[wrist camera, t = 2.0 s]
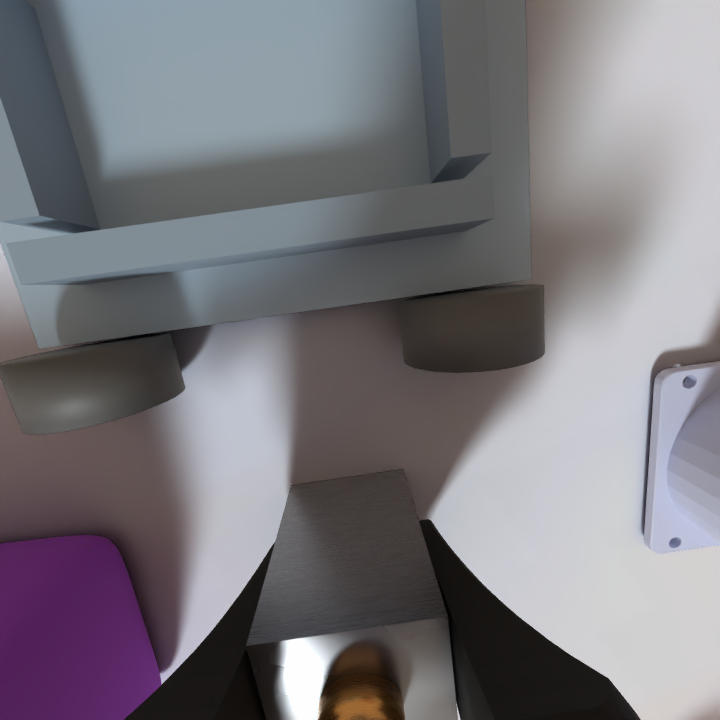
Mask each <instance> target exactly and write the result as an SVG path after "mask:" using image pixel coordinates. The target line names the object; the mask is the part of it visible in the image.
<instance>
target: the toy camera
mask: <svg viewBox="0 0 720 720" xmlns="http://www.w3.org/2000/svg"><path fill="white" fill-rule="evenodd" d="M160 686H161V678H160V674H159V669H158V665H157V662H156V658H155V655H154V652H153V649H152V645H151V642H150V639H149V636H148V633H147V630H146V627H145V624H144V620H143V617H142V614H141V611H140V608H139V605H138V602H137V599H136V596H135V592H134V589H133V586H132V583H131V580H130V577H129V575H128V572H127V569H126V566H125V563H124V561H123V559H122V556H121V554H120V552H119V550H118V549H117V547H116V546H115V545H114V544H113V543H112V542H111V541H110V540H109V539H107V538H105V537H101V536H97V535H74V536H61V537H52V538H43V539H34V540H25V541H17V542H8V543H0V720H124V719H125V718H126V717H127V716H128V715H129V714H130V713H132V712H133V711H134V710H135V709H136V708H137V707H138V706H139V705H140V704H142V703H143V702H144V701H145V700H146V699H147V698H148V697H149V696H150V695H151V694H152V693H153V692H154V691H156V690H157V689H158V688H159V687H160Z"/></svg>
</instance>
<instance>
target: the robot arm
mask: <svg viewBox="0 0 720 720" xmlns="http://www.w3.org/2000/svg"><path fill="white" fill-rule="evenodd" d="M685 377H686V379H685V382H684V383H683V380H684V378H685ZM419 523H420V526H421V530H422V533H423V536H424V540H425V543H426V546H427V550H428V553H429V556H430V559H431V563H432V566H433V569H434V573H435V576H436V579H437V583H438V586H439V589H440V593H441V596H442V599H443V602H444V606H445V609H446V612H447V616H448V624H449V634H450V644H451V655H452V665H453V675H454V685H455V696H456V702H457V707H458V711H459V715H460V719H461V720H640V718H639V717H638V715H637V714H636V712H635V711H634V710H633V708H632V707H631V706H630V705H629V703H628V702H627V701H626V700H625V698H624V697H623V696H622V695H621V693H620V692H619V691H618V690H617V688H616V687H615V686H614V685H613V683H612V682H611V681H610V680H609V679H608V678H607V677H605V676H603V675H602V674H600V673H599V672H597V671H595V670H594V669H592V668H590V667H589V666H587V665H586V664H584V663H582V662H581V661H579V660H578V659H576V658H574V657H573V656H571V655H570V654H568V653H567V652H565V651H564V650H562V649H561V648H559V647H558V646H557V645H555V644H554V643H552V642H551V641H549V640H548V639H547V638H545V637H544V636H543V635H542V634H540V633H539V632H538V631H536V630H535V629H534V628H533V627H531V626H530V625H529V624H527V623H526V622H525V621H523V620H522V619H521V618H520V617H518V616H517V615H516V614H515V613H514V612H513V611H511V610H510V609H509V608H508V607H507V606H506V605H504V604H503V603H502V602H501V601H500V600H499V599H498V598H497V597H496V596H495V595H494V594H493V593H491V592H490V591H489V590H488V589H487V588H486V587H485V586H484V585H483V584H482V583H481V582H480V581H479V580H478V578H477V577H476V576H475V575H474V574H473V573H472V572H471V571H470V570H469V569H468V568H467V567H466V566H465V564H464V563H463V562H462V561H461V560H460V559H459V557H458V556H457V555H456V554H455V553H454V551H453V550H452V549H451V548H450V546H449V545H448V544H447V543H446V541H445V540H444V539H443V537H442V536H441V535H440V533H439V532H438V530H437V529H436V527H435V526H434V524H433V523H432V521H431V520H429V519H427V520H420V521H419ZM644 543H645V545H646V546H647V547H648V548H649V549H651V550H652V551H653V552H655V553H659V554H663V553H669V552H676V551H683V550H690V549H697V548H703V547H710V546H717V545H720V361H716V362H709V363H702V364H695V365H688V366H681V367H674V368H668V369H665V370H662V371H661V372H660V373H659V374H658V375H657V376H656V378H655V382H654V393H653V409H652V424H651V439H650V454H649V470H648V485H647V500H646V516H645V531H644ZM274 545H275V543H274V544H273V545H272V547H271V548H270V550H269V552H268V553H267V555H266V556H265V558H264V559H263V561H262V562H261V564H260V566H259V567H258V569H257V570H256V572H255V573H254V575H253V576H252V578H251V579H250V580H249V582H248V583H247V585H246V586H245V588H244V589H243V591H242V592H241V594H240V595H239V596H238V598H237V599H236V600H235V602H234V603H233V604H232V606H231V607H230V608H229V610H228V611H227V612H226V614H225V615H224V616H223V618H222V619H221V620H220V621H219V623H218V624H217V625H216V626H215V628H214V629H213V630H212V631H211V632H210V634H209V635H208V636H207V637H206V638H205V639H204V641H203V642H202V643H201V644H200V645H199V646H198V648H197V649H196V650H195V651H194V652H193V653H192V654H191V655H190V656H189V657H188V658H187V659H186V660H185V661H184V662H183V663H182V664H181V666H180V667H179V668H178V669H177V670H176V671H175V672H174V673H173V674H172V675H171V676H170V677H169V678H168V679H167V680H166V681H165V682H164V683H163V684H162V685H161V686H160V687H159V688H158V689H157V690H156V691H154V692H153V693H152V694H151V695H150V696H149V697H148V698H147V699H146V700H145V701H144V702H143V703H142V704H140V705H139V706H138V707H137V708H136V709H135V710H134V711H133V712H132V713H130V714H129V715H128V716H127V717H126V718H125V719H124V720H266V717H265V713H264V710H263V706H262V702H261V699H260V695H259V692H258V688H257V684H256V681H255V677H254V674H253V670H252V666H251V663H250V659H249V655H248V652H247V648H246V644H247V641H248V637H249V634H250V630H251V626H252V623H253V619H254V616H255V612H256V609H257V605H258V602H259V598H260V595H261V591H262V587H263V584H264V580H265V577H266V573H267V570H268V566H269V563H270V559H271V556H272V552H273V548H274Z"/></svg>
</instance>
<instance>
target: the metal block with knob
mask: <svg viewBox="0 0 720 720" xmlns="http://www.w3.org/2000/svg"><path fill="white" fill-rule="evenodd" d="M246 648H247V652H248V655H249V659H250V663H251V666H252V670H253V674H254V677H255V681H256V684H257V688H258V692H259V695H260V699H261V702H262V706H263V710H264V713H265V717H266V720H458V716H457V706H456V696H455V685H454V675H453V665H452V655H451V644H450V634H449V624H448V616H447V612H446V609H445V606H444V602H443V599H442V596H441V593H440V589H439V586H438V583H437V579H436V576H435V573H434V569H433V566H432V563H431V559H430V556H429V553H428V550H427V546H426V543H425V540H424V536H423V533H422V530H421V526H420V523H419V520H418V516H417V513H416V510H415V507H414V503H413V500H412V497H411V493H410V490H409V487H408V483H407V480H406V477H405V473H404V470H403V469H402V470H395V471H388V472H381V473H374V474H367V475H360V476H354V477H347V478H340V479H333V480H326V481H319V482H312V483H305V484H298V485H291V488H290V492H289V495H288V499H287V502H286V506H285V509H284V513H283V517H282V520H281V524H280V527H279V531H278V534H277V538H276V541H275V545H274V548H273V552H272V556H271V559H270V563H269V566H268V570H267V573H266V577H265V580H264V584H263V587H262V591H261V595H260V598H259V602H258V605H257V609H256V612H255V616H254V619H253V623H252V626H251V630H250V634H249V637H248V641H247V644H246Z"/></svg>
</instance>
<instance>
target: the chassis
mask: <svg viewBox="0 0 720 720" xmlns="http://www.w3.org/2000/svg"><path fill="white" fill-rule="evenodd" d="M0 243H1V246H2V249H3V251H4V254H5V257H6V260H7V263H8V265H9V268H10V271H11V274H12V276H13V279H14V282H15V285H16V287H17V290H18V293H19V296H20V298H21V301H22V304H23V307H24V309H25V312H26V315H27V318H28V320H29V323H30V326H31V329H32V331H33V334H34V337H35V340H36V342H37V345H38V348H39V349H43V348H50V347H57V346H65V345H72V344H79V343H86V342H93V341H100V340H107V339H114V338H121V337H128V336H135V335H142V334H149V333H156V332H163V331H170V330H177V329H184V328H192V327H199V326H206V325H213V324H220V323H227V322H234V321H241V320H248V319H255V318H262V317H269V316H276V315H283V314H290V313H297V312H304V311H311V310H319V309H326V308H333V307H340V306H347V305H354V304H361V303H368V302H375V301H382V300H389V299H396V298H403V297H410V296H417V295H424V294H431V293H438V292H445V291H453V290H460V289H467V288H474V287H481V286H488V285H495V284H502V283H509V282H516V281H523V280H530V279H531V236H530V187H529V138H528V89H527V40H526V0H0ZM398 308H399V317H400V326H401V335H402V344H403V354H404V361H405V363H406V364H407V365H409V366H411V367H414V368H417V369H421V370H426V371H434V372H452V373H463V372H482V371H492V370H500V369H506V368H511V367H516V366H520V365H524V364H527V363H530V362H533V361H535V360H537V359H539V358H541V357H542V356H543V355H544V352H545V344H544V286H543V285H512V286H499V287H489V288H479V289H470V290H462V291H454V292H447V293H440V294H434V295H428V296H422V297H416V298H412V299H407V300H403V301H400V302H398ZM0 377H1V380H2V382H3V385H4V387H5V390H6V392H7V395H8V397H9V400H10V402H11V405H12V407H13V410H14V412H15V415H16V417H17V420H18V422H19V425H20V427H21V430H22V432H23V433H25V434H30V435H42V434H52V433H59V432H66V431H71V430H76V429H81V428H85V427H90V426H94V425H98V424H102V423H106V422H109V421H113V420H116V419H120V418H123V417H126V416H129V415H132V414H135V413H138V412H141V411H144V410H147V409H149V408H152V407H154V406H157V405H159V404H162V403H164V402H166V401H168V400H170V399H172V398H174V397H176V396H177V395H179V394H180V393H182V392H183V391H184V389H185V385H184V381H183V377H182V374H181V370H180V366H179V362H178V359H177V355H176V351H175V347H174V344H173V340H172V336H171V334H170V333H162V334H152V335H144V336H137V337H130V338H123V339H117V340H111V341H105V342H99V343H93V344H87V345H82V346H76V347H71V348H65V349H60V350H55V351H50V352H45V353H40V354H35V355H31V356H26V357H22V358H17V359H13V360H9V361H5V362H2V363H0Z"/></svg>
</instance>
